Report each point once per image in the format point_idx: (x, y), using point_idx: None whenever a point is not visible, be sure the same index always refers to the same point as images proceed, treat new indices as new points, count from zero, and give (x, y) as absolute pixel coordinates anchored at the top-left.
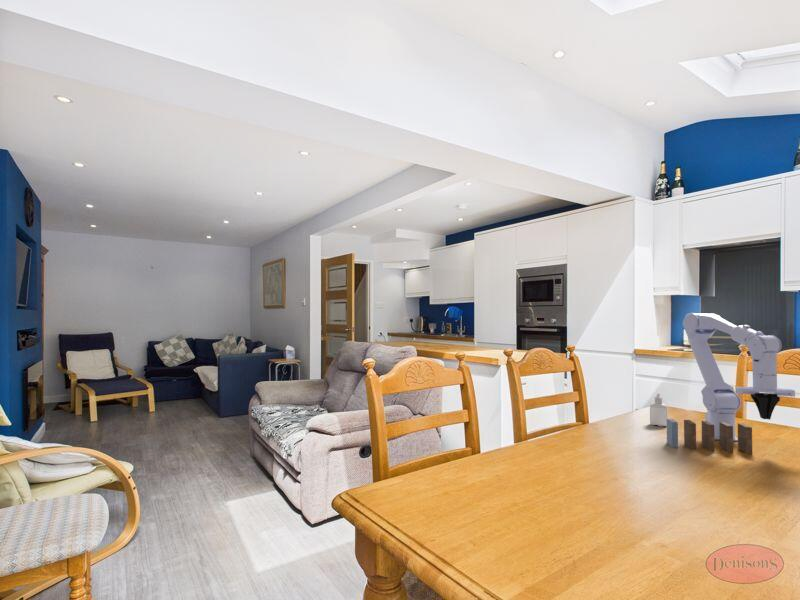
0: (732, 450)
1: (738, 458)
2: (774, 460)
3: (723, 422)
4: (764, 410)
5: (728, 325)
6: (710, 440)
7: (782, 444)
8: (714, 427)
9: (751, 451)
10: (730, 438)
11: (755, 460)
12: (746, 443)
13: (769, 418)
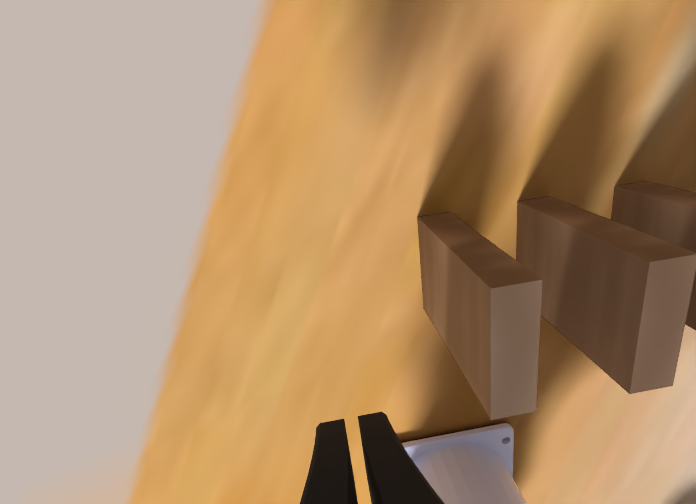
0: (528, 202)
1: (549, 61)
2: (339, 113)
3: (649, 378)
4: (414, 496)
5: None
6: (691, 197)
7: (182, 488)
8: (524, 502)
9: (425, 221)
10: (587, 224)
11: (460, 56)
12: (473, 229)
13: (329, 426)
